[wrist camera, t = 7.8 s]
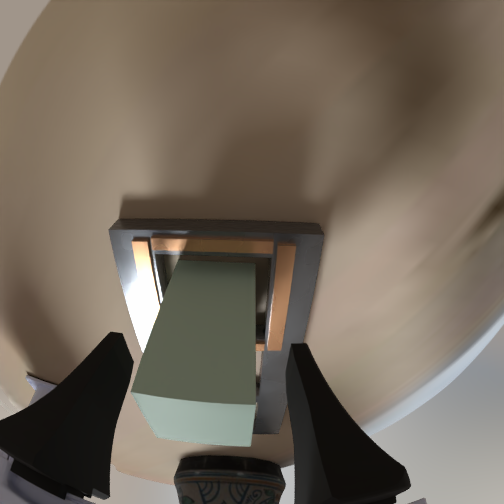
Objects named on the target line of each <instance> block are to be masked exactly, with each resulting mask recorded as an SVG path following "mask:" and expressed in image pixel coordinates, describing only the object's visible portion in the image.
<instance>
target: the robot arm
mask: <svg viewBox="0 0 504 504" xmlns="http://www.w3.org/2000/svg"><path fill="white" fill-rule="evenodd" d="M133 364H134V361H133V359H132V357H131V354H130V352H129V349H128V347H127V344H126V341H125V339H124V336H123V333H117V332H110V333H109V334H108V335H107V336H106V337H105V338H104V339H103V340H102V341H101V342H100V343H99V344H98V345H97V346H96V348H95V349H94V350H93V351H92V352H91V353H90V354H89V355H88V356H87V357H86V358H85V359H84V360H83V361H82V363H81V364H80V365H79V366H78V367H77V368H76V369H75V370H74V371H73V372H72V373H71V374H70V375H68V376H67V377H66V378H65V379H64V380H63V381H62V382H61V383H60V384H59V385H58V386H57V385H54V384H51V383H48V382H45V381H42V380H39V379H36V378H34V377H31V376H28V375H26V380H27V381H28V382H29V383H30V385H31V386H32V387H33V388H34V390H35V393H34V395H33V397H32V400H31V402H30V404H29V406H28V407H27V408H25V409H23V410H21V411H19V412H18V413H16V414H13V415H11V416H9V417H7V418H5V419H2V420H0V504H95V503H92V502H89V501H87V500H84V499H83V498H84V496H86V497H88V498H91V496H95V497H97V498H100V499H103V500H105V499H107V498H109V497H110V463H111V453H112V445H113V439H114V433H115V428H116V424H117V420H118V417H119V414H120V411H121V407H122V404H123V401H124V398H125V395H126V392H127V389H128V386H129V383H130V379H131V374H132V369H133ZM285 376H286V395H287V402H288V408H289V415H290V421H291V427H292V434H293V442H294V464H295V503H294V504H394V503H396V495H398V494H400V493H402V492H404V491H406V490H408V489H409V488H410V487H411V484H410V479H409V476H408V474H407V471H406V469H405V467H404V466H403V465H401V464H400V463H399V462H397V461H396V460H394V459H393V458H392V457H391V456H389V455H388V454H387V453H386V452H385V451H383V450H382V449H381V448H380V447H379V446H378V445H377V444H376V443H374V441H373V440H372V439H371V438H370V437H369V436H368V435H367V434H366V433H365V432H364V431H363V430H362V429H361V428H360V427H359V426H358V425H357V424H356V422H355V421H354V420H353V419H352V418H351V416H350V415H349V414H348V413H347V411H346V410H345V409H344V407H343V406H342V405H341V403H340V402H339V400H338V399H337V398H336V396H335V395H334V393H333V391H332V390H331V388H330V387H329V385H328V383H327V382H326V380H325V378H324V377H323V375H322V373H321V371H320V369H319V368H318V366H317V364H316V362H315V360H314V358H313V356H312V354H311V351H310V349H309V347H308V345H307V344H306V343H291V347H290V352H289V357H288V362H287V367H286V371H285ZM409 504H426V499H425V498H422V499H420V500H417V501H414V502H411V503H409Z"/></svg>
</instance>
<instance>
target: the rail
mask: <svg viewBox="0 0 504 504" xmlns="http://www.w3.org/2000/svg"><path fill="white" fill-rule="evenodd" d="M109 235H110V239H111V244H112V248H113V253H114V257H115V261H116V266H117V270H118V274H119V277H120V281H121V285H122V289H123V292H124V296H125V299H126V303H127V306H128V309H129V313H130V316H131V319H132V322H133V325H134V329H135V332H136V335H137V338H138V340H139V343H140V346H141V349H142V352H143V353H144V350H145V347H146V344H147V341H148V338H149V335H150V332H151V330H152V327H153V324H154V321H155V319H156V316H157V313H158V311H159V308H160V305H161V303H162V300H163V297H164V295H165V292H166V289H167V287H168V283H167V277H166V271H165V264H164V257H163V254H173V255H203V256H234V257H267V258H270V261H269V274H268V286H267V299H266V311H265V322H264V325H256V351H262V356H261V367H260V377H259V383H256V402H257V408H256V417H255V419H254V424H253V432H252V434H279V430H280V427H281V424H282V420H283V417H284V413H285V410H286V406H287V403H288V402H287V395H286V376H285V371H286V367H287V362H288V357H289V352H290V347H291V343H303V340H304V336H305V331H306V327H307V322H308V318H309V313H310V308H311V304H312V299H313V294H314V289H315V284H316V279H317V273H318V268H319V263H320V257H321V251H322V245H323V240H324V233H323V231H322V229H321V227H320V225H319V224H317V223H296V222H271V221H240V220H195V219H118V220H117V221H116V222H115V223H114V224H113V225H112V226H111V228H110V229H109Z"/></svg>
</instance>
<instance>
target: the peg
mask: <svg viewBox="0 0 504 504" xmlns="http://www.w3.org/2000/svg"><path fill="white" fill-rule="evenodd" d="M131 394H132V395H133V397H134V399H135V401H136V403H137V405H138V406H139V408H140V410H141V412H142V413H143V415H144V417H145V419H146V420H147V422H148V424H149V425H150V427H151V429H152V430H153V432H154V433H155V435H156V437H157V438H163V439H169V440H176V441H183V442H191V443H200V444H211V445H225V446H247V447H251V440H252V432H253V424H254V416H255V408H256V312H255V263H236V262H213V261H190V260H178V262H177V264H176V267H175V269H174V272H173V274H172V277H171V279H170V282H169V284H168V287H167V289H166V292H165V295H164V297H163V300H162V303H161V305H160V308H159V311H158V313H157V316H156V319H155V321H154V324H153V327H152V330H151V332H150V335H149V338H148V341H147V344H146V347H145V350H144V353H143V356H142V358H141V361H140V364H139V367H138V371H137V374H136V377H135V380H134V383H133V386H132V389H131Z"/></svg>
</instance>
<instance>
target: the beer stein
mask: <svg viewBox="0 0 504 504" xmlns="http://www.w3.org/2000/svg"><path fill="white" fill-rule="evenodd" d="M174 484H175V486H176V489H177V493H178V498H179V503H180V504H279V501H280V498H281V495H282V493H283V491H284V489H285V485H286V483H285V481H284V478H283V475H282V472H281V469H280V466H279V465H278V464H275V463H273V462H271V461H266V460H261V459H256V458H247V457H235V456H211V455H207V456H192V457H188V458H185V459H181V461H180V463H179V466H178V469H177V471H176V473H175V476H174Z"/></svg>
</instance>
